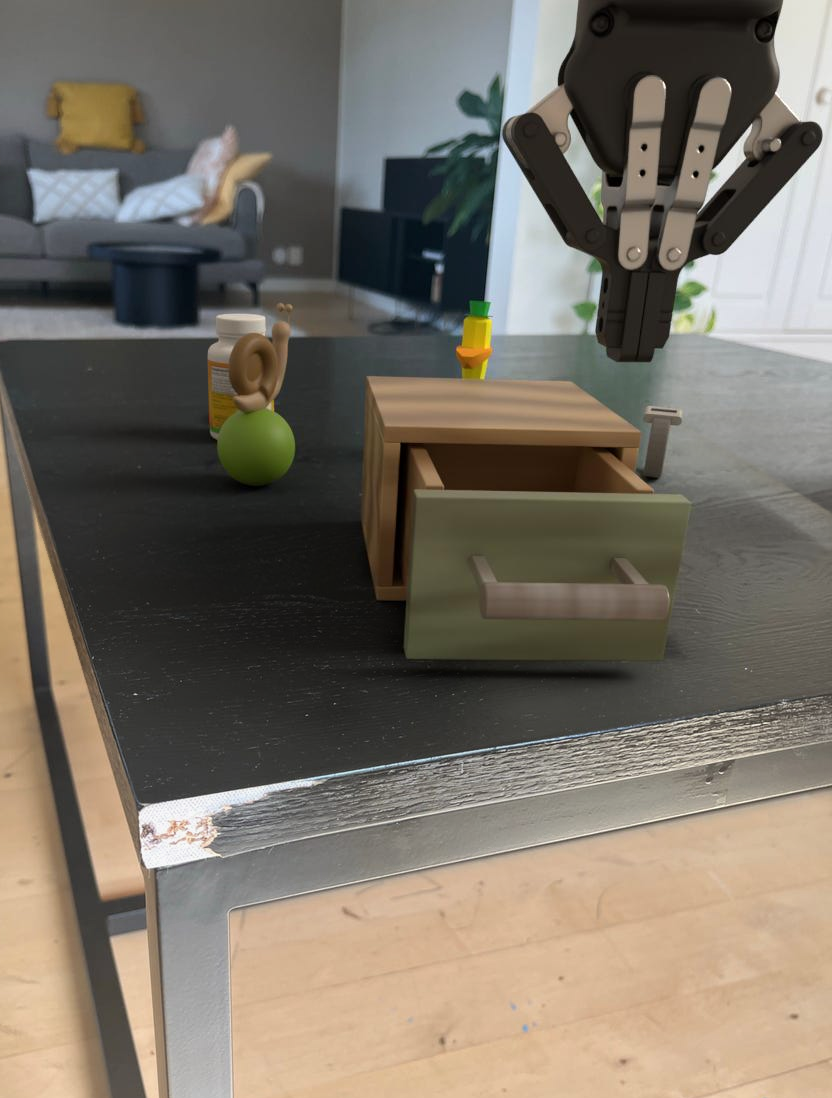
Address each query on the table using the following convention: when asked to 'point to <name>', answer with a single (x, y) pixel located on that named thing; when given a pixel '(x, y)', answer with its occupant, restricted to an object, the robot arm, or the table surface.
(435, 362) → the table surface
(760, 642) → the table surface
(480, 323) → the toy figure
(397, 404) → the cabinet
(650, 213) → the robot arm
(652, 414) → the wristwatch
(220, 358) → the supplement bottle
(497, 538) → the drawer
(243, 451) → the snail figurine
